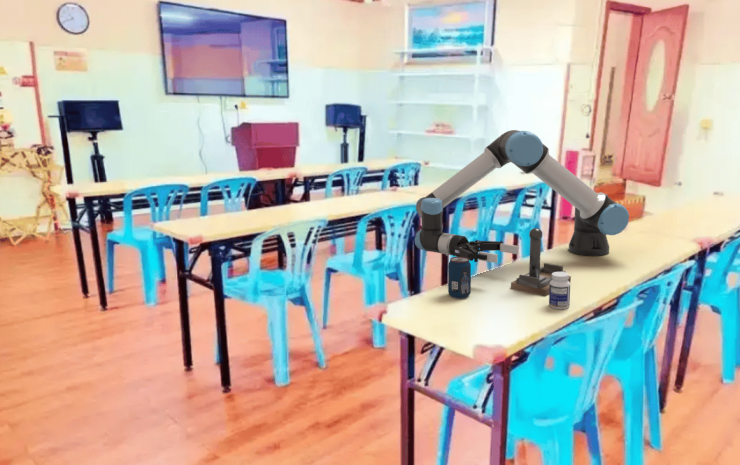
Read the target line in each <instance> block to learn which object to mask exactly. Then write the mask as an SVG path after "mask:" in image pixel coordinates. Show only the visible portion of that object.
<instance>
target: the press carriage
mask: <svg viewBox="0 0 740 465" xmlns="http://www.w3.org/2000/svg"><path fill="white" fill-rule="evenodd" d="M528 235H529V239H530V240H529V242H530V243H529V244H530V245H529V267H528V268H529V269H528V270H529V271H528V273H529V274H528V275H526V276H531V277H536V278H539V283H540V282H542V281H544V280H546V276H541V275H540V267H541V250H542V249H541V247H542V237H543V232H542V230H541V229H540V228H537V227H534V228H532V229H531V230H530V231H529V233H528Z"/></svg>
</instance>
